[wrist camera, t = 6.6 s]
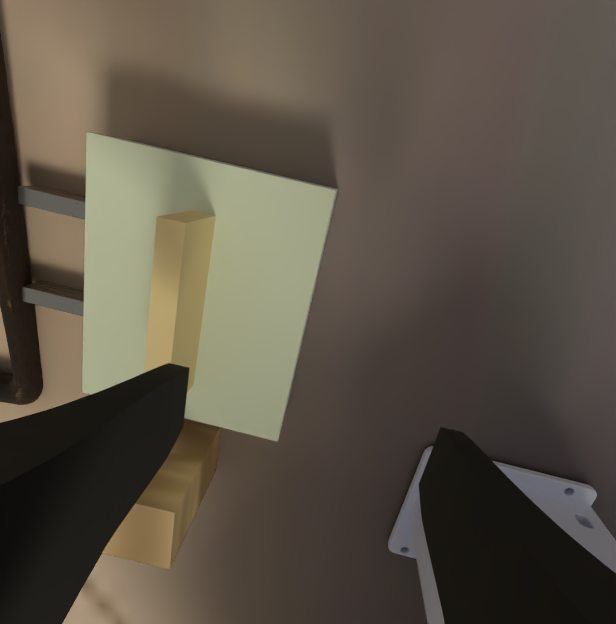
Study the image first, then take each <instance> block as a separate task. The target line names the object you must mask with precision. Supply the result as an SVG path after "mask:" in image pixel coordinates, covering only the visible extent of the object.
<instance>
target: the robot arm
mask: <svg viewBox="0 0 616 624" xmlns="http://www.w3.org/2000/svg"><path fill="white" fill-rule="evenodd" d="M189 370H190V368H188V367H184V366H180V365H176V364H171V363H167V364H165V365H162V366H159V367H157V368H154V369H152V370H150V371H147V372H145V373H143V374H140V375H138V376H136V377H133V378H131V379H129V380H126V381H124V382H121V383H119V384H117V385H114V386H112V387H110V388H107V389H105V390H102V391H99V392H97V393H94V394H91V395H89V396H86V397H83V398H80V399H78V400H75V401H72V402H70V403H67V404H64V405H61V406H58V407H55V408H52V409H49V410H46V411H42V412H39V413H35V414H32V415H28V416H25V417H21V418H18V419H14V420H10V421H6V422H2V423H0V624H62V623H63V621H64V619H65V618H66V616H67V614H68V612H69V610H70V608H71V607H72V605H73V603H74V601H75V599H76V598H77V596H78V594H79V592H80V590H81V589H82V587H83V585H84V583H85V582H86V580H87V578H88V577H89V575H90V573H91V571H92V570H93V568H94V566H95V564H96V563H97V561H98V559H99V557H100V556H101V554H102V552H103V551H104V549H105V547H106V546H107V544H108V542H109V541H110V539H111V538H112V536H113V535H114V533H115V532H116V530H117V529H118V527H119V526H120V524H121V523H122V522H123V520H124V519H125V517H126V516H127V515H128V513H129V512H130V510H131V509H132V507H133V506H134V505H135V503H136V502H137V500H138V499H139V498H140V496H141V495H142V493H143V492H144V490H145V489H146V488H147V486H148V485H149V483H150V482H151V481H152V479H153V478H154V476H155V475H156V473H157V472H158V470H159V469H160V468H161V466H162V465H163V463H164V462H165V460H166V459H167V457H168V455H169V453H170V452H171V450H172V448H173V446H174V444H175V442H176V440H177V438H178V436H179V435H180V433H181V431H182V429H183V424H184V415H185V406H186V397H187V388H188V379H189ZM567 488H569V489H568V490H566V489H567ZM596 497H597V493H596V491H595V490H594V489H593V488H592V487H591V486H590V485H587V484H583V483H579V482H575V481H571V480H567V479H563V478H559V477H555V476H551V475H547V474H543V473H539V472H536V471H532V470H528V469H524V468H520V467H516V466H512V465H508V464H504V463H500V462H496V461H492V460H491V459H490V458H489V457H488V456H487V455H486V454H485V453H484V452H483V451H482V450H481V449H480V448H479V447H478V446H477V445H476V444H475V443H474V442H473V441H472V440H471V439H470V438H469V437H467V436H466V435H465V434H464V433H463V432H459V431H455V430H451V429H446V428H442V427H441V428H440V430H439V433H438V436H437V438H436V441H435V443H434V446H431V447H428V448H426V449H425V451H424V453H423V455H422V458H421V460H420V463H419V465H418V468H417V470H416V473H415V475H414V478H413V480H412V483H411V485H410V488H409V490H408V493H407V495H406V498H405V500H404V503H403V505H402V508H401V510H400V513H399V515H398V518H397V520H396V523H395V525H394V528H393V530H392V533H391V535H390V538H389V540H388V548H389V550H390V551H391V552H393V553H395V554H399V555H403V556H407V557H411V558H415V559H416V560H417V566H418V571H419V577H420V583H421V588H422V594H423V600H424V606H425V611H426V617H427V623H428V624H616V540H615V539H614V537H613V536H612V535H611V533H610V532H609V531H608V529H607V528H606V526H605V525H604V524H603V522H602V521H601V520H600V518H599V517H598V516H597V514H596V513H595V512H594V510H593V509H592V508H591V505H592V504H593V502H594V501H595V499H596ZM404 547H405V548H404Z"/></svg>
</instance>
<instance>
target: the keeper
mask: <svg viewBox="0 0 616 624" xmlns="http://www.w3.org/2000/svg"><path fill="white" fill-rule="evenodd" d="M85 198H86V197H82V196H78V195H74V194H69V193H65V192H61V191H57V190H53V189H48V188H44V187H40V186H18V204H23V205H27V206H31V207H35V208H39V209H43V210H47V211H52V212H56V213H60V214H64V215H68V216H72V217H77V218H81V219H85ZM22 300H23V301H24V302H28V303H32V304H36V305H40V306H44V307H48V308H52V309H56V310H60V311H64V312H68V313H72V314H76V315H80V316H84V292H83V291H79V290H75V289H71V288H67V287H63V286H59V285H55V284H50V283H46V282H42V281H38V282H35V283H32V284H29V285H26V286H22Z"/></svg>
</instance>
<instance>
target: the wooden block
mask: <svg viewBox="0 0 616 624" xmlns="http://www.w3.org/2000/svg"><path fill="white" fill-rule="evenodd" d="M221 430H222V428H221V427H217V426H213V425H210V424H206V423H202V422H198V421H194V420H190V419H186V418H184V424H183V429H182V431H181V433H180V435H179V436H178V438H177V440H176V442H175V444H174V446H173V448H172V450H171V452H170V453H169V455H168V457H167V459H166V460H165V462H164V463H163V465H162V466H161V468H160V469H159V470H158V472H157V473H156V475H155V476H154V478H153V479H152V481H151V482H150V483H149V485H148V486H147V488H146V489H145V490H144V492H143V493H142V495H141V496H140V498H139V499H138V500H137V502H136V503H135V505H134V506H133V507H132V509H131V510H130V512H129V513H128V515H127V516H126V517H125V519H124V520H123V522H122V523H121V524H120V526H119V527H118V529H117V530H116V532H115V533H114V535H113V536H112V538H111V539H110V541H109V542H108V544H107V546H106V547H105V549H104V551H103V552H102V553H103V554H107V555H111V556H115V557H119V558H124V559H128V560H132V561H136V562H140V563H144V564H148V565H152V566H157V567H161V568H165V569H169V570H170V568H171V566H172V563H173V561H174V559H175V557H176V555H177V553H178V550H179V548H180V546H181V544H182V542H183V540H184V538H185V535H186V533H187V531H188V529H189V527H190V525H191V522H192V520H193V518H194V516H195V514H196V512H197V509H198V507H199V505H200V503H201V501H202V499H203V497H204V494H205V492H206V490H207V488H208V486H209V484H210V481H211V479H212V477H213V475H214V473H215V471H216V467H217V460H218V452H219V445H220V437H221Z"/></svg>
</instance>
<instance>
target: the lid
mask: <svg viewBox="0 0 616 624" xmlns="http://www.w3.org/2000/svg"><path fill="white" fill-rule="evenodd" d="M336 192H337V190H335V189H331V188H326V187H322V186H318V185H314V184H309V183H305V182H301V181H296V180H292V179H288V178H284V177H279V176H275V175H271V174H267V173H262V172H258V171H254V170H250V169H245V168H241V167H237V166H232V165H228V164H224V163H220V162H215V161H211V160H207V159H203V158H198V157H194V156H190V155H186V154H181V153H177V152H173V151H168V150H164V149H160V148H156V147H151V146H147V145H143V144H139V143H134V142H130V141H126V140H122V139H117V138H113V137H109V136H104V135H100V134H95V133H90V132H87V139H86V198H85V257H84V316H83V375H82V392H83V393H87V394H94V393H97V392H99V391H102V390H105V389H107V388H110V387H112V386H114V385H117V384H119V383H121V382H124V381H126V380H129V379H131V378H133V377H136V376H138V375H140V374H143V373H145V372H147V371H150V370H152V369H154V368H157V367H159V366H162V365H165V364H167V363H171V364H176V365H180V366H184V367H188V368H190V370H189V379H188V388H187V397H186V406H185V415H184V418H186V419H190V420H194V421H198V422H202V423H206V424H210V425H213V426H217V427H221V428H225V429H229V430H233V431H237V432H241V433H245V434H249V435H253V436H257V437H261V438H265V439H269V440H273V441H277V442H278V438H279V435H280V431H281V427H282V423H283V418H284V414H285V410H286V406H287V401H288V397H289V393H290V389H291V384H292V380H293V376H294V371H295V367H296V363H297V359H298V354H299V350H300V346H301V341H302V337H303V333H304V329H305V324H306V320H307V316H308V312H309V307H310V303H311V299H312V294H313V290H314V286H315V282H316V277H317V273H318V269H319V264H320V260H321V256H322V252H323V247H324V243H325V239H326V235H327V230H328V226H329V222H330V217H331V213H332V209H333V205H334V200H335V196H336Z"/></svg>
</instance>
